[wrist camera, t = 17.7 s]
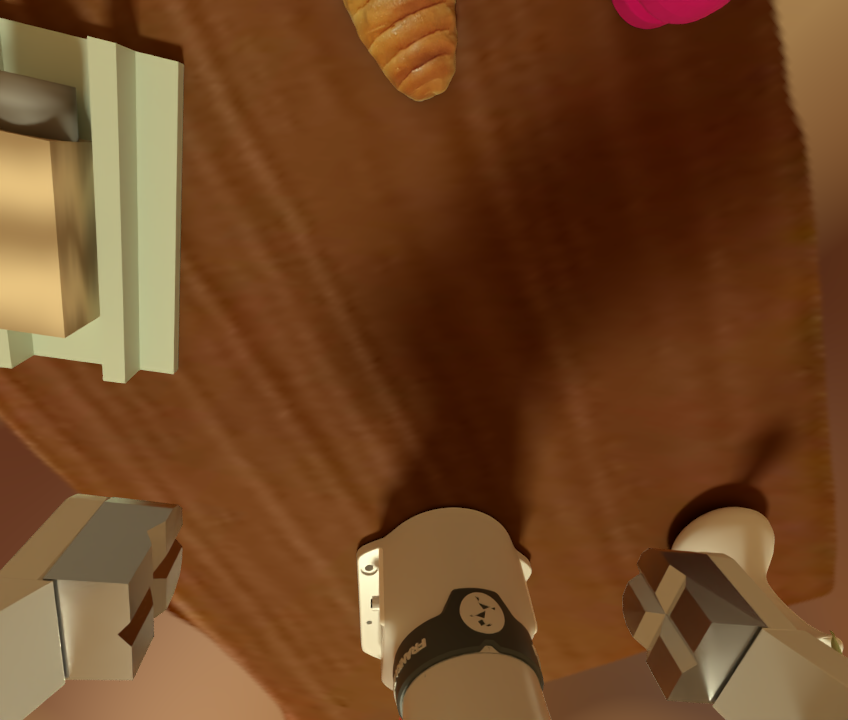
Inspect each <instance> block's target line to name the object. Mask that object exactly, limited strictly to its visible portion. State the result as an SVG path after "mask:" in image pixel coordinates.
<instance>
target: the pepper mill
mask: <svg viewBox="0 0 848 720" xmlns="http://www.w3.org/2000/svg"><path fill="white" fill-rule="evenodd" d="M729 1H730V0H612V3H613V5H614V7H615V9H616V10H617V12H618V14H619V15H620V16H621V17H622V18H623V19H624V20H625V21H626V22H627V23H628V24H630V25H632V26H634V27H637V28H642V29H653V28H657V27H660V26H663V25H665V24H668V23H670V24H686V23H690V22H694V21H697V20H700V19H702V18H704V17H706V16H708V15H710V14H711V13H713V12H715V11H717V10H718V9H720V8H722V7H723V6H724V5H725V4H727V3H728V2H729Z"/></svg>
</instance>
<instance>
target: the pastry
mask: <svg viewBox="0 0 848 720" xmlns="http://www.w3.org/2000/svg"><path fill="white" fill-rule="evenodd" d="M343 3H344V5H345V7H346V9H347V11H348V12H349V14H350V16H351V19H352V21H353V23H354V25H355V27H356V30H357V33H358V36H359V38H360V40H361V41H362V42H363V44H364V45H365V46H366V48H367V49H368V51H369V53H370V54H371V55H372V56H373V58H374V59H375V60H376V62H377V63H378V65H379V67H380V68H381V69H382V71H383V73H384V75H385V76H386V77H387V78H388V80H389V81H390V82H391V84H392V85H393V86H394V87H395V88H396V89H397V90H398V91H400V92H402V93H404V94H405V95H406V96H407V97H409V98H411V99H413V100H415V101H423V100H427V99H429V98H432V97H433V96H435V95H438V94H441V93H443V92H444V91H445V90H446V89H447V87H448V85H449V83H450V81H451V79H452V77H453V75H454V73H455V70H456V55H455V54H456V47H457V28H456V15H455V4H456V0H343Z"/></svg>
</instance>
